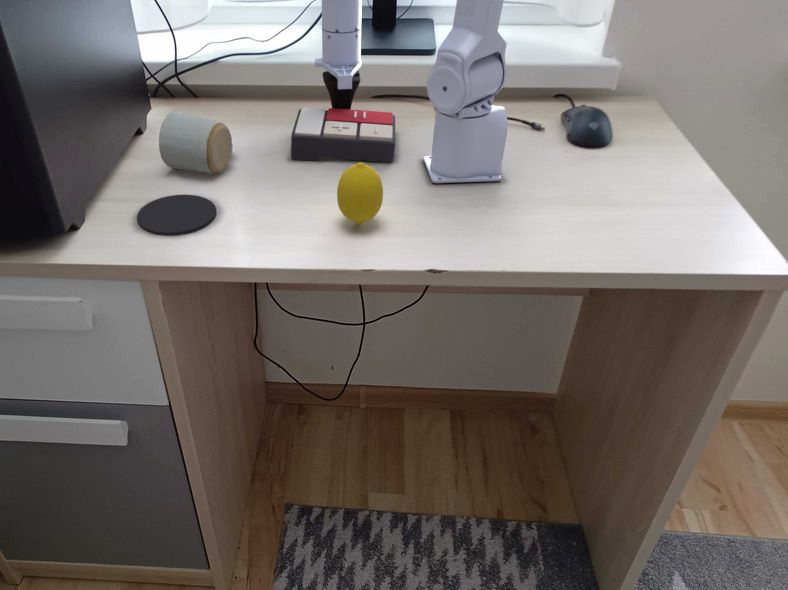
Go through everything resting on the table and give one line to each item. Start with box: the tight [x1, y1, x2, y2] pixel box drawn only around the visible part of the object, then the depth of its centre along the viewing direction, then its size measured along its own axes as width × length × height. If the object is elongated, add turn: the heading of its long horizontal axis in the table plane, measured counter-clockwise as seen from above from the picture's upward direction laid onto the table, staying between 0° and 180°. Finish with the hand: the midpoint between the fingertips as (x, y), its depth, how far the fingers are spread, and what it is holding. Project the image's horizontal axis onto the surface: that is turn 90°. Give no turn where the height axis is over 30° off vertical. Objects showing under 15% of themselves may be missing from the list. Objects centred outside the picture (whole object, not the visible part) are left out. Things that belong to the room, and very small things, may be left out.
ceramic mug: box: [158, 110, 234, 174], centre depth 92 cm, size 11×8×8 cm
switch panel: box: [290, 107, 396, 163], centre depth 98 cm, size 11×4×15 cm
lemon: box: [336, 161, 384, 226], centre depth 78 cm, size 6×6×8 cm
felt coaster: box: [136, 194, 217, 236], centre depth 83 cm, size 10×10×1 cm
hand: (341, 120), depth 103 cm, fingers closed
